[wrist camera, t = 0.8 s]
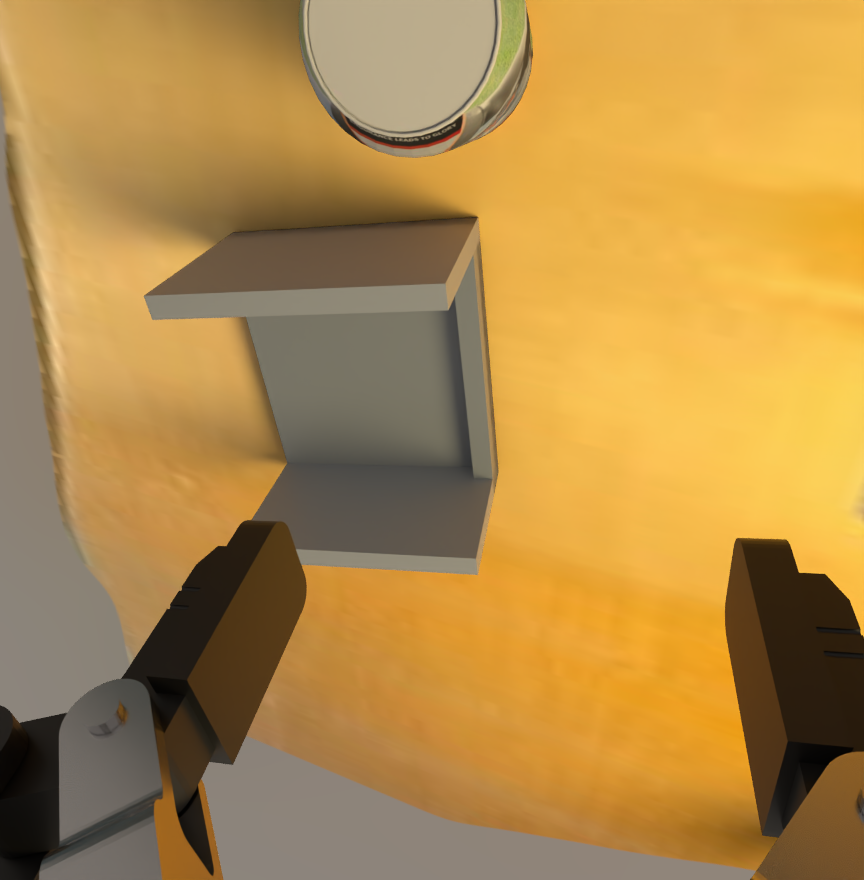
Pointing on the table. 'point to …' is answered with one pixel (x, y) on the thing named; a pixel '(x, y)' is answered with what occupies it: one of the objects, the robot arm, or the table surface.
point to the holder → (365, 383)
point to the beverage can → (417, 68)
